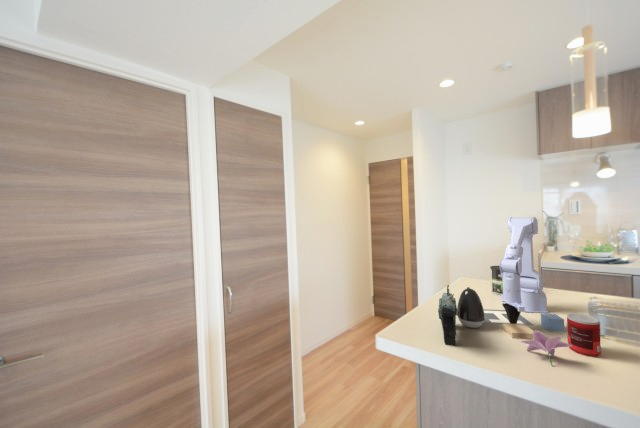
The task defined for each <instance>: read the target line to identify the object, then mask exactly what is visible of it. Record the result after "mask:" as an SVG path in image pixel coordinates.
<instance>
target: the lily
mask: <svg viewBox="0 0 640 428" xmlns="http://www.w3.org/2000/svg"><path fill="white" fill-rule="evenodd" d="M533 331H534V332H533V339H524V340H521V341H520V343H524V344H527V345H528V347H526V351H527V352H530V351H531V352H533V351H537V350H541V351H544V352H546V353H547V355H548V359H549V362H550V365H551V367H554V365H553V362H552V359H551V356H554V355H555V352H556V349H557V348H569V347H572V345H570V344H568V342H565V341H561V340H562V338H563V336H561V335H560V336H558V335H557V336H553V337H551V336H550V337H549V336H547V334H545V333H543V332H541V331H539V330H533Z"/></svg>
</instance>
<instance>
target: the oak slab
mask: <svg viewBox="0 0 640 428" xmlns="http://www.w3.org/2000/svg"><path fill="white" fill-rule="evenodd" d="M501 326H502V330H504V332H506V333H507V334H508V335H509V336H510V338H511V339H519V340H520V339H522V340H533V332H534V331H535V330H533V329H531V328H530V327H529V325H525V324H503V323H502V324H501Z"/></svg>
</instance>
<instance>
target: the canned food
mask: <svg viewBox="0 0 640 428" xmlns="http://www.w3.org/2000/svg"><path fill="white" fill-rule="evenodd" d="M600 323H601V322H600V320H599V319H598V318H597V317H595V316H592V315H588V314H584V313H583V314H582V313H579V312H578V313H575V312H573V313H568V314H567V315H566V325H567V326H566V327H567V329H566V330H567V331H566V332H567V343H568V344H570V345H572V347H568V348H569V349H570V350H571V351H573V352H574V353H576V354H579V355H582V356H587V357H592V358H593V357H595V358H597V357H599V356H600V355H601V352H602V350H601V349H602V348H601V347H602V346H601V324H600Z"/></svg>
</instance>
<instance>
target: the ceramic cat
mask: <svg viewBox="0 0 640 428" xmlns="http://www.w3.org/2000/svg"><path fill="white" fill-rule="evenodd" d="M449 287H450V285H449V284H447V285H446V292H443V293H442V296H441V297H440V298H439V299H438V301H439V302H438V309H437V312H438V319H439V320H440V323H441V327H442V332H443V333H442V335H443V342H444V345H446V346H452V347H456V345H457V344H456V342H457V334H456V333H457V332H456V331H457V328H456V326H457V320H456V319H457V301H456V298H455V297H454V296H455V294H454V293H453V294H452V293H451V292H450V289H449Z"/></svg>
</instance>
